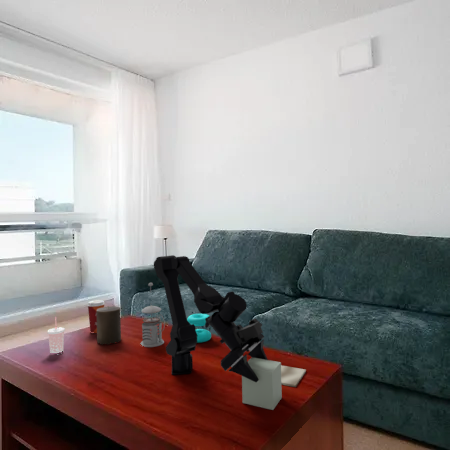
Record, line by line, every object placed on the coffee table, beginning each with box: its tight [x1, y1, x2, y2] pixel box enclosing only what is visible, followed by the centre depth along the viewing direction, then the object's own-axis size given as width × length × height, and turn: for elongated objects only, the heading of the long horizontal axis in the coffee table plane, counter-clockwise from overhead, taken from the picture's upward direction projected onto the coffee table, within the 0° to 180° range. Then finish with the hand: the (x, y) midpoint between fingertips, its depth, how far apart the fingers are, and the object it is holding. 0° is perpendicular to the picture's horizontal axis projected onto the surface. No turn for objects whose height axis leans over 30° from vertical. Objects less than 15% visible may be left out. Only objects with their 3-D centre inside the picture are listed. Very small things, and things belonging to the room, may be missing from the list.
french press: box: [139, 282, 166, 348], centre depth 147 cm, size 10×12×25 cm
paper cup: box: [86, 299, 106, 333], centre depth 164 cm, size 8×8×14 cm
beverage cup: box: [47, 316, 66, 353], centre depth 139 cm, size 6×6×14 cm
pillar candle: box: [96, 305, 122, 345], centre depth 152 cm, size 10×10×15 cm
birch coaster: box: [281, 364, 307, 388], centre depth 114 cm, size 12×12×1 cm
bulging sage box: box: [241, 357, 283, 411], centre depth 99 cm, size 9×7×10 cm
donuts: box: [187, 313, 212, 344], centre depth 151 cm, size 10×10×10 cm
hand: (263, 374), depth 99 cm, fingers open, 9 cm apart
